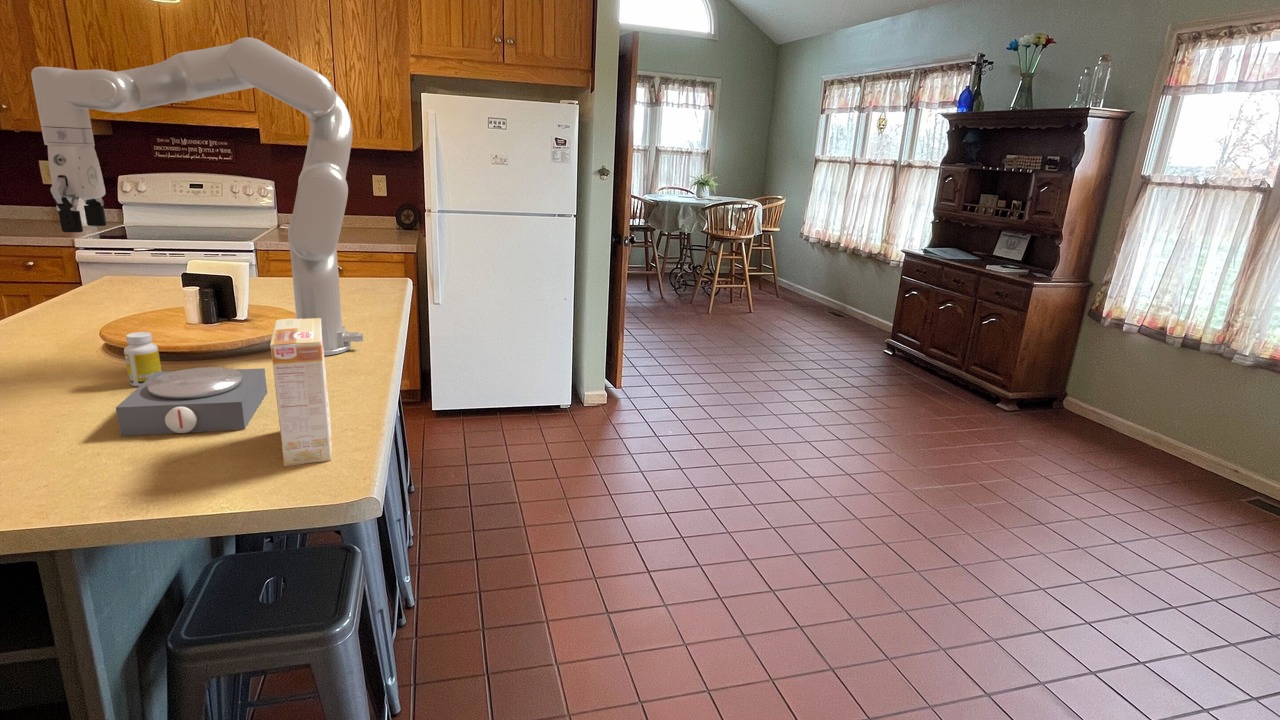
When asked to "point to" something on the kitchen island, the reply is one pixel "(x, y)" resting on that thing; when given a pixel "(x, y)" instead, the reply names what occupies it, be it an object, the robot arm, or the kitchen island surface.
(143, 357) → the supplement bottle
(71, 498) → the kitchen island surface
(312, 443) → the coffeecake box
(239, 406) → the scale base
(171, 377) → the scale pan
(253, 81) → the robot arm
